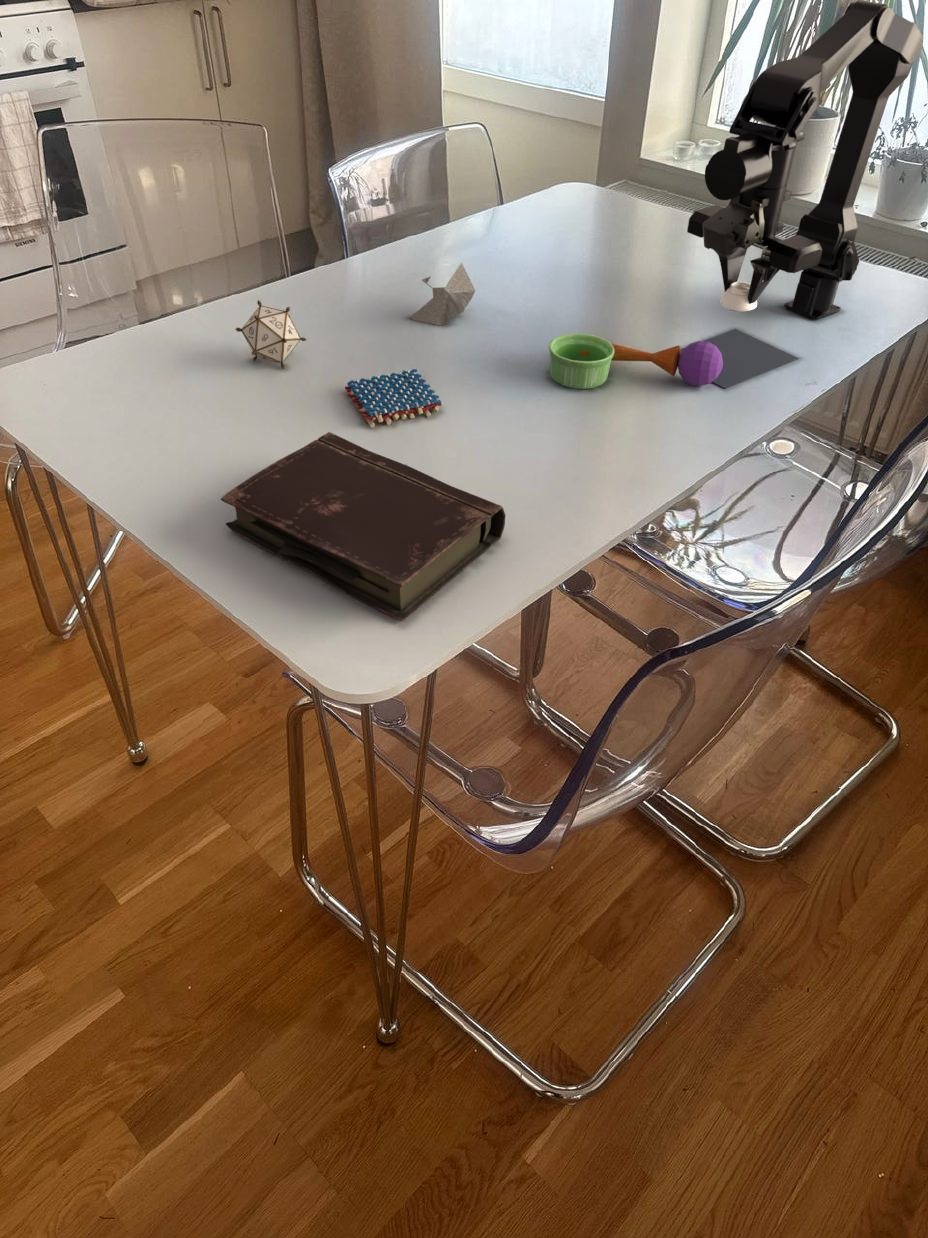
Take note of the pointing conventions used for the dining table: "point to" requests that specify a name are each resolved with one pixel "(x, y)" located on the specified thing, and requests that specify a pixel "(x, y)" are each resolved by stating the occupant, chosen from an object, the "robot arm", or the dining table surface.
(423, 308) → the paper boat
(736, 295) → the white jar
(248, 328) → the game die
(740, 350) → the slate mat
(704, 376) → the kendama
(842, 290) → the dining table surface
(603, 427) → the dining table surface
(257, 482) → the diary
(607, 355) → the ramekin
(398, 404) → the woven mat
